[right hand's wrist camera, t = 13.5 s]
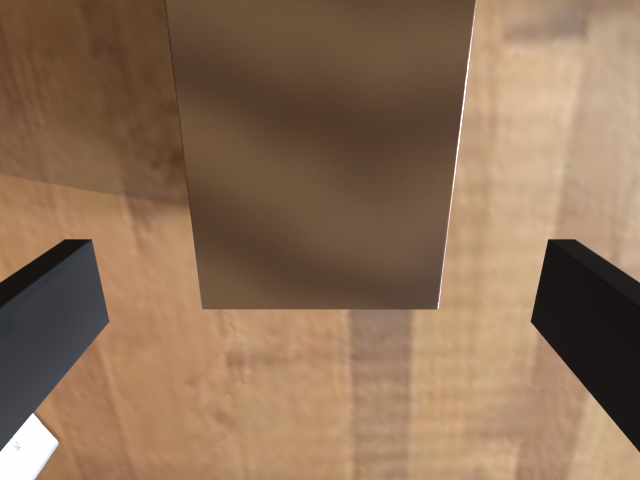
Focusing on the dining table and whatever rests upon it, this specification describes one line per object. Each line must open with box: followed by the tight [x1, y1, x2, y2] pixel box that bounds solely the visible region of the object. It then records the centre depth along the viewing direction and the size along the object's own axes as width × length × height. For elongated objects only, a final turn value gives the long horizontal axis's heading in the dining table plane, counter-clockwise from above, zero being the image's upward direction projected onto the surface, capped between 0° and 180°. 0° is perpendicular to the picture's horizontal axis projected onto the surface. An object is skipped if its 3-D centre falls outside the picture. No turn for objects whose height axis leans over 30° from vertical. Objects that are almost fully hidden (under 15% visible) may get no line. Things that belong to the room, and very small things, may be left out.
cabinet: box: [165, 0, 477, 309], centre depth 21 cm, size 18×10×12 cm, turn 0°
